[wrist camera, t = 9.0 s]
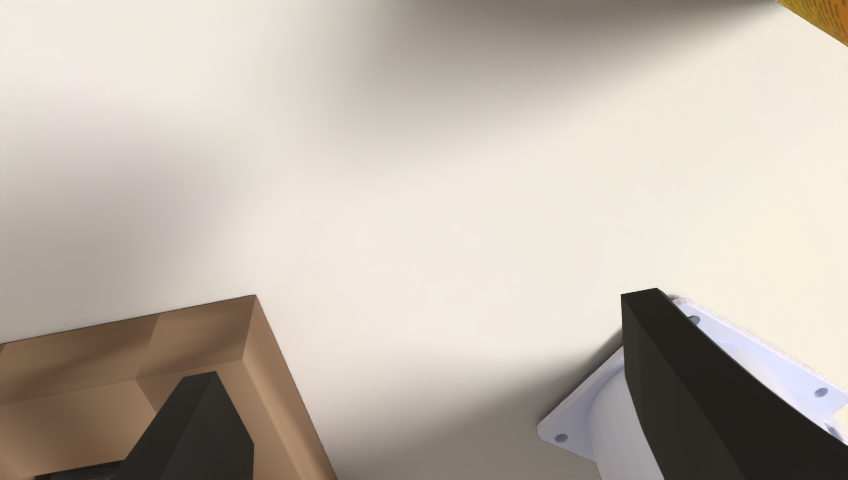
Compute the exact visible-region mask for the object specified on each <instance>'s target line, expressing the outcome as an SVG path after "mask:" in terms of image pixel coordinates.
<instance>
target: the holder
mask: <svg viewBox="0 0 848 480" xmlns="http://www.w3.org/2000/svg"><path fill="white" fill-rule="evenodd" d="M212 371H216V372H217V374H218V376H219V378H220V380H221V382H222V384H223V385H224V387H225V389H226V391H227V393H228V395H229V397H230V399H231V401H232V403H233V404H234V406H235V408H236V410H237V412H238V414H239V416H240V418H241V420H242V422H243V423H244V425H245V427H246V429H247V431H248V433H249V435H250V437H251V439H252V441H253V443H254V467H253V480H337V478H336V476H335V473H334V471H333V469H332V467H331V464H330V462H329V460H328V457H327V455H326V453H325V451H324V448H323V446H322V444H321V442H320V439H319V437H318V435H317V432H316V430H315V428H314V426H313V423H312V421H311V419H310V416H309V414H308V412H307V410H306V407H305V405H304V403H303V401H302V398H301V396H300V394H299V391H298V389H297V387H296V385H295V382H294V380H293V378H292V375H291V373H290V371H289V369H288V366H287V364H286V362H285V360H284V357H283V355H282V353H281V350H280V348H279V346H278V344H277V341H276V339H275V337H274V334H273V332H272V330H271V328H270V325H269V323H268V321H267V319H266V316H265V314H264V312H263V309H262V307H261V305H260V303H259V300H258V298H257V296H256V295H252V296H247V297H242V298H237V299H231V300H226V301H221V302H216V303H211V304H206V305H201V306H195V307H190V308H185V309H180V310H175V311H170V312H165V313H159V314H154V315H149V316H144V317H139V318H134V319H129V320H124V321H118V322H113V323H108V324H103V325H98V326H93V327H88V328H82V329H77V330H72V331H67V332H62V333H57V334H52V335H46V336H41V337H36V338H31V339H26V340H21V341H16V342H11V343H5V344H0V480H50V478H51V476H52V474H53V472H58V471H64V470H69V469H75V468H80V467H86V466H91V465H97V464H102V463H108V462H113V461H119V460H124V459H125V458H126V457H127V456H128V454H129V453H130V451H131V450H132V449H133V447H134V446H135V444H136V443H137V442H138V440H139V439H140V437H141V436H142V435H143V433H144V432H145V430H146V429H147V427H148V426H149V425H150V423H151V422H152V420H153V419H154V417H155V416H156V414H157V413H158V412H159V410H160V409H161V407H162V406H163V404H164V403H165V402H166V400H167V399H168V397H169V396H170V394H171V393H172V392H173V390H174V389H175V387H176V386H177V385H178V383H179V382H180V380H181V379H182V378H183V377H185V376H191V375H196V374H201V373H206V372H212Z"/></svg>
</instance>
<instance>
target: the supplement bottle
mask: <svg viewBox="0 0 848 480" xmlns="http://www.w3.org/2000/svg"><path fill="white" fill-rule="evenodd" d="M775 1H776V2H777V3H779V4H781V5H783V6H784V7H786V8H788V9H789V10H791V11H792V12H794V13H795V14H797V15H799V16H800V17H802V18H803V19H805V20H806V21H808V22H810V23H811V24H813V25H814V26H816V27H817V28H819V29H821V30H822V31H824V32H826V33H827V34H829V35H830V36H832V37H834V38H835V39H837V40H838V41H840V42H841V43H843V44H844V45H846V46H847V47H848V0H775Z"/></svg>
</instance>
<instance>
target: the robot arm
mask: <svg viewBox="0 0 848 480" xmlns="http://www.w3.org/2000/svg"><path fill="white" fill-rule="evenodd" d="M621 309H622V330H623V346H622V347H621V348H620V349H618V350H617V351H616V352H615V353H614V354H613V355H612V356H611V357H610V358H609V359H608V360H607V361H606V362H604V363H603V364H602V365H601V366H600V367H599V368H598V369H597V370H596V371H595V372H594V373H593V374H592V375H590V376H589V377H588V378H587V379H586V380H585V381H584V382H583V383H582V384H581V385H580V386H579V387H578V388H576V389H575V390H574V391H573V392H572V393H571V394H570V395H569V396H568V397H567V398H566V399H565V400H564V401H562V402H561V403H560V404H559V405H558V406H557V407H556V408H555V409H554V410H553V411H552V412H551V413H550V414H548V415H547V416H546V417H545V418H544V419H543V420H542V421H541V422H540V423H539V424H538V426H537V432H538V436H539V438H540V439H542V440H543V441H545V442H548V443H550V444H553V445H555V446H557V447H560V448H562V449H564V450H567V451H569V452H571V453H574V454H576V455H579V456H581V457H583V458H586V459H588V460H590V461H593V462H595V463H597V466H598V469H599V473H600V476H601V479H602V480H848V437H847V435H846V434H845V433H844V431H843V430H842V428H841V427H840V425H839V424H838V422H837V421H836V419H835V418H834V416H833V414H834V413H835V412H837V411H838V410H840V409H841V408H842V407H844V406H845V405H846V404H847V403H848V392H847V391H846V390H845V388H844V387H842V386H840V385H839V384H837V383H835V382H833V381H832V380H830V379H828V378H826V377H825V376H823V375H821V374H819V373H818V372H816V371H814V370H812V369H811V368H809V367H807V366H805V365H804V364H802V363H800V362H798V361H797V360H795V359H793V358H791V357H790V356H788V355H786V354H784V353H783V352H781V351H779V350H777V349H776V348H774V347H772V346H770V345H769V344H767V343H765V342H763V341H762V340H760V339H758V338H756V337H755V336H753V335H751V334H749V333H748V332H746V331H744V330H742V329H741V328H739V327H737V326H735V325H733V324H732V323H730V322H728V321H726V320H725V319H723V318H721V317H719V316H718V315H716V314H714V313H712V312H711V311H709V310H707V309H705V308H704V307H702V306H700V305H698V304H697V303H695V302H693V301H691V300H690V299H687V298H677V299H674V300H672V301H671V300H670V299H669V298H668V297H667V296H666V294H665V293H664V292H662V291H661V290H659V289H658V288H653V289H647V290H642V291H637V292H631V293H626V294H621ZM693 315H694V317H692V318H688V317H690V316H693ZM253 467H254V443H253V441H252V439H251V437H250V435H249V433H248V431H247V429H246V427H245V425H244V423H243V422H242V420H241V418H240V416H239V414H238V412H237V410H236V408H235V406H234V404H233V403H232V401H231V399H230V397H229V395H228V393H227V391H226V389H225V387H224V385H223V384H222V382H221V380H220V378H219V376H218V374H217V372H216V371H212V372H206V373H201V374H196V375H191V376H185V377H183V378H182V379H181V380H180V382H179V383H178V385H177V386H176V387H175V389H174V390H173V392H172V393H171V394H170V396H169V397H168V399H167V400H166V402H165V403H164V404H163V406H162V407H161V409H160V410H159V412H158V413H157V414H156V416H155V417H154V419H153V420H152V422H151V423H150V425H149V426H148V427H147V429H146V430H145V432H144V433H143V435H142V436H141V437H140V439H139V440H138V442H137V443H136V444H135V446H134V447H133V449H132V450H131V451H130V453H129V454H128V456H127V457H126V458H125V460H124V461H123V463H122V464H121V465H120V467H119V468H118V469H117V471H116V472H115V474H114V475H113V476H112V478H111V479H110V480H253Z"/></svg>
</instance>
